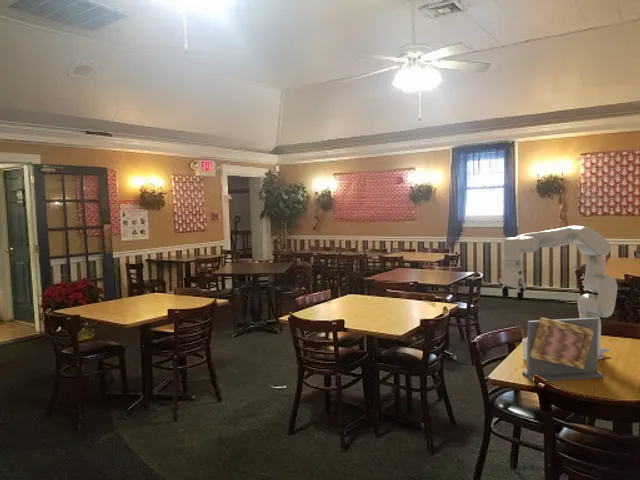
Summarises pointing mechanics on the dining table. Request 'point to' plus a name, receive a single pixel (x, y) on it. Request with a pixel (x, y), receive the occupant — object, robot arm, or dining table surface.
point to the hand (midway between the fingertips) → (512, 298)
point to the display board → (561, 371)
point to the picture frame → (561, 343)
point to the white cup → (524, 348)
